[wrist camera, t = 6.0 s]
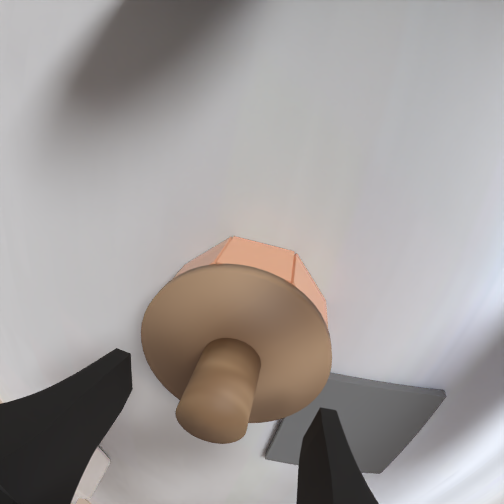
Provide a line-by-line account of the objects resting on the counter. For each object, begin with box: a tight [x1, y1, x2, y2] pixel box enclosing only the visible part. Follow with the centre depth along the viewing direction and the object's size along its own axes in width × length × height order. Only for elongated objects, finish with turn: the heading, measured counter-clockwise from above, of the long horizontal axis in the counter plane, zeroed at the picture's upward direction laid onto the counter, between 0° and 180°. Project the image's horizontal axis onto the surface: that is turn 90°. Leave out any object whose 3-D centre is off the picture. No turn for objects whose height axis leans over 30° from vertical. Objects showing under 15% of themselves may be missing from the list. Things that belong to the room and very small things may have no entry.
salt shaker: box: [71, 447, 110, 504], centre depth 23 cm, size 4×4×10 cm
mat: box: [265, 373, 446, 474], centre depth 19 cm, size 10×10×1 cm
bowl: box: [174, 236, 328, 328], centre depth 16 cm, size 8×8×3 cm
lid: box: [141, 263, 332, 444], centre depth 12 cm, size 9×9×4 cm
